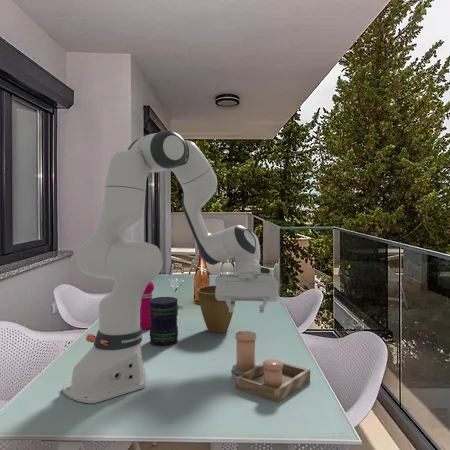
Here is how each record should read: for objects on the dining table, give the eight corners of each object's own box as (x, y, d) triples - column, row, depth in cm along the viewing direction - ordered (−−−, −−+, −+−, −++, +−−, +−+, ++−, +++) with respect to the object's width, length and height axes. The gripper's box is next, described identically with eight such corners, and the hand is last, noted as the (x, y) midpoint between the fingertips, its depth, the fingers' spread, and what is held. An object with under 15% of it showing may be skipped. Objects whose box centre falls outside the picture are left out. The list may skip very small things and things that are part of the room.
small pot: (276, 395, 112) (276, 368, 112) (258, 390, 115) (259, 363, 115) (286, 388, 116) (286, 362, 116) (269, 383, 119) (269, 358, 119)
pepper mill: (152, 330, 169) (151, 278, 168) (134, 329, 170) (133, 277, 169) (158, 325, 176) (158, 275, 175) (141, 324, 177) (141, 274, 176)
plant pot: (211, 323, 179) (211, 283, 178) (243, 328, 172) (243, 287, 171) (189, 332, 167) (189, 290, 166) (223, 339, 159) (223, 295, 158)
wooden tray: (277, 402, 110) (277, 390, 110) (235, 388, 118) (235, 377, 118) (310, 380, 123) (310, 369, 123) (270, 369, 131) (270, 359, 131)
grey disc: (249, 378, 125) (249, 375, 125) (226, 371, 130) (226, 368, 129) (264, 369, 131) (264, 367, 131) (242, 363, 136) (242, 360, 136)
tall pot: (248, 373, 126) (248, 338, 125) (231, 368, 130) (231, 334, 129) (259, 367, 131) (260, 333, 130) (243, 362, 134) (243, 330, 134)
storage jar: (158, 336, 162) (158, 295, 161) (182, 339, 159) (182, 298, 158) (144, 344, 153) (143, 301, 152) (169, 348, 149) (169, 304, 148)
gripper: (215, 268, 146) (212, 305, 136) (278, 269, 144) (279, 306, 135) (216, 279, 150) (213, 316, 141) (277, 280, 149) (278, 317, 140)
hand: (246, 311), depth 138 cm, fingers open, 8 cm apart
